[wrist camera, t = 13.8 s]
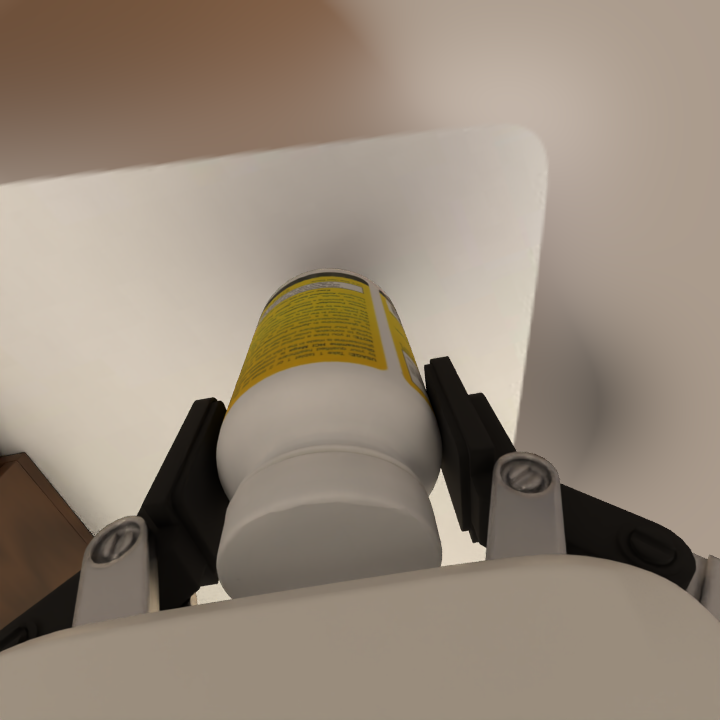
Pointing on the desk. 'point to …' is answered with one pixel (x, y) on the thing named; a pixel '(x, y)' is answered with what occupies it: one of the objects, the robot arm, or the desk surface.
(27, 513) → the cabinet
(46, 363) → the desk surface
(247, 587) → the pill bottle
